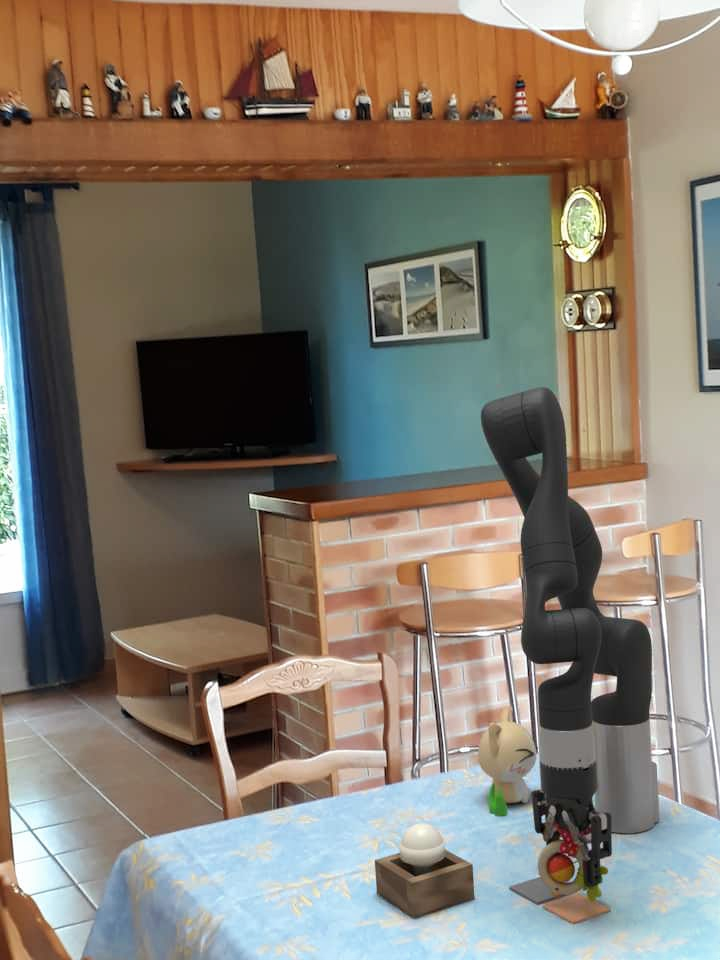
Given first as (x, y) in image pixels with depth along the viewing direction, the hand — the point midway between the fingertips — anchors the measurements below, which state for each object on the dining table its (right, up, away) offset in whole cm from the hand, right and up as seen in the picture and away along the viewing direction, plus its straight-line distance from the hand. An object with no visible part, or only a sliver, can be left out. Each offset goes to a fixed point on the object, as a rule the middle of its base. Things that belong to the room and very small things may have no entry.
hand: (573, 876), depth 161 cm
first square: (-3, -4, +7) cm, 9 cm away
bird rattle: (0, -3, +1) cm, 3 cm away
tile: (0, -5, 0) cm, 5 cm away
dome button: (-20, -2, +7) cm, 21 cm away
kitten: (-3, -2, +43) cm, 43 cm away
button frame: (-20, -5, +7) cm, 22 cm away
